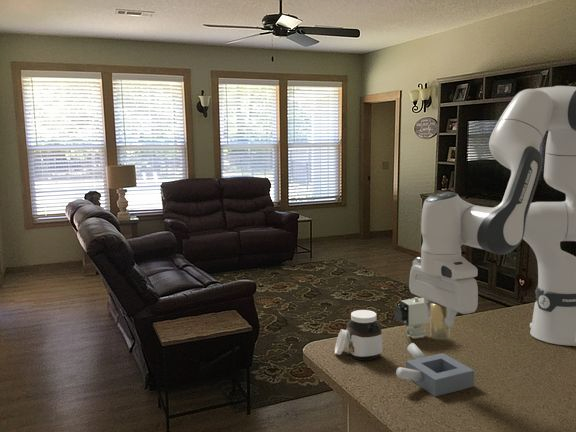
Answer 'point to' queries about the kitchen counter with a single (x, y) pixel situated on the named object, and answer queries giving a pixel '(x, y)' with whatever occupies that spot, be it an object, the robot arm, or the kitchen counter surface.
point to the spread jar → (361, 336)
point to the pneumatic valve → (413, 316)
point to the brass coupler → (438, 322)
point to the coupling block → (436, 372)
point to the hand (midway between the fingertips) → (440, 321)
